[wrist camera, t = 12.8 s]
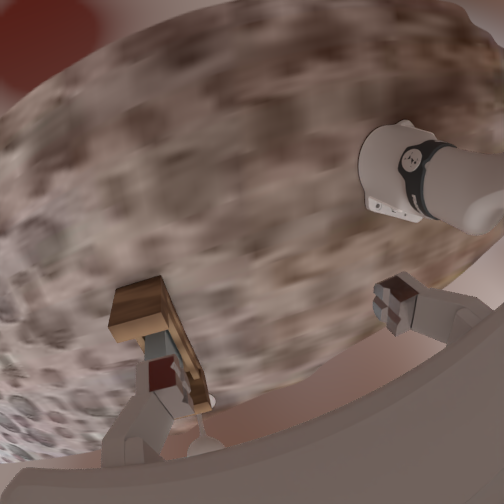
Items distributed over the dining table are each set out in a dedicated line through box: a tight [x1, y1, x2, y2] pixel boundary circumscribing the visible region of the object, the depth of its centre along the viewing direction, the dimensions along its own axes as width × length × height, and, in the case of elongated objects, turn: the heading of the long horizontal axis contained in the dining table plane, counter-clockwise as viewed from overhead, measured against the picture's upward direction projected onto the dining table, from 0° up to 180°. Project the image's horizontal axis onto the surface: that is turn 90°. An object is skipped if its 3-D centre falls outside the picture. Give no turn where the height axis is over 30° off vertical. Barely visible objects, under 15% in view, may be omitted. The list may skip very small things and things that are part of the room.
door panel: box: [145, 330, 184, 368], centre depth 45 cm, size 9×4×10 cm, turn 12°
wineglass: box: [187, 394, 225, 457], centre depth 51 cm, size 9×9×21 cm
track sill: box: [108, 275, 212, 420], centre depth 46 cm, size 24×8×10 cm, turn 12°
